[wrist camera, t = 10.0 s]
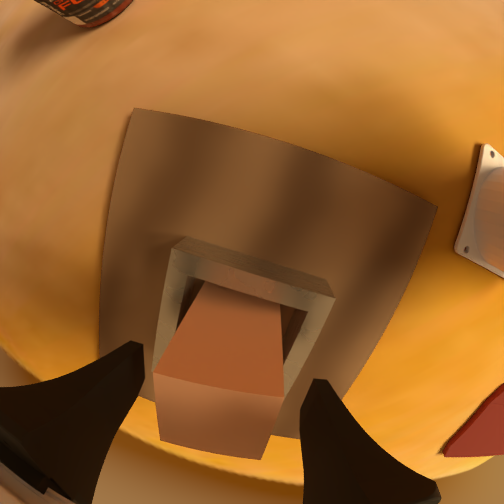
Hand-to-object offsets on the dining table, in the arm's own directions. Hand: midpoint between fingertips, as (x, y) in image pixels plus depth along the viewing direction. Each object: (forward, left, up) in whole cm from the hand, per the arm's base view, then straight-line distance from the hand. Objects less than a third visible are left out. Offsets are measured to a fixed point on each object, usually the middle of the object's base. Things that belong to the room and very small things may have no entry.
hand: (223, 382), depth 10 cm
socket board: (0, 0, -6) cm, 6 cm away
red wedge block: (-43, +9, -7) cm, 44 cm away
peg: (0, 0, -5) cm, 5 cm away
